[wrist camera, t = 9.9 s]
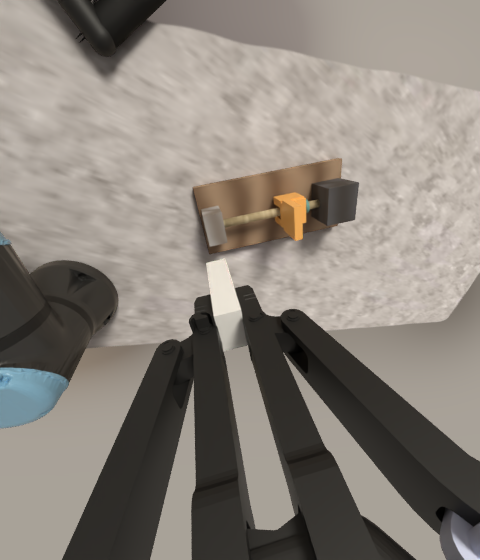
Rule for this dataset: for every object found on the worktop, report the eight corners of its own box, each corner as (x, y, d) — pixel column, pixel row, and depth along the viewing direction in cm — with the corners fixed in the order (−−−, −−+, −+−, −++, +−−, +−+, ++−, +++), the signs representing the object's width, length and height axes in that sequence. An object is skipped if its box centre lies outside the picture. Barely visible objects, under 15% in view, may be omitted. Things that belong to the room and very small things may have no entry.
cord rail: (208, 251, 45) (211, 268, 39) (192, 187, 39) (193, 195, 33) (333, 223, 47) (355, 235, 41) (337, 158, 41) (364, 160, 35)
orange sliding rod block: (275, 222, 43) (295, 240, 35) (273, 194, 40) (294, 207, 32) (295, 218, 43) (320, 235, 35) (295, 190, 41) (321, 201, 33)
